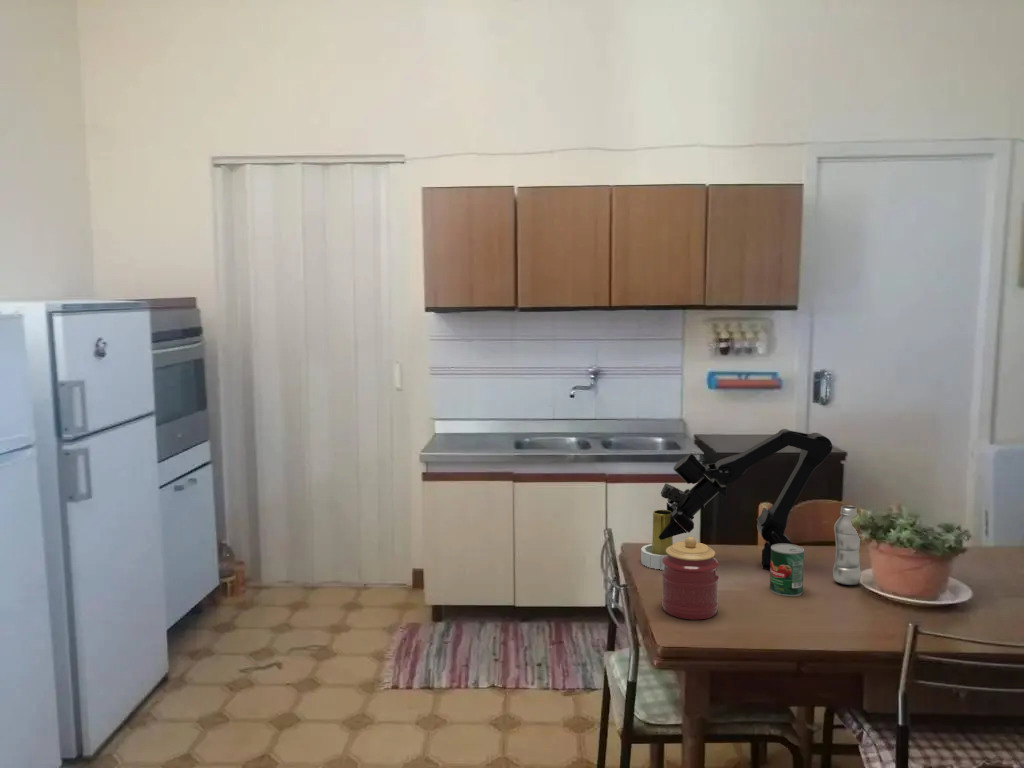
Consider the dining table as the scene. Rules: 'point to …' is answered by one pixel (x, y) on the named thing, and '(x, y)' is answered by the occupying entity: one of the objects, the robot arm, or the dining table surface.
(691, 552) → the canister
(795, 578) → the canned tomato
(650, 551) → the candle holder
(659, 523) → the vase
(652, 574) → the dining table surface
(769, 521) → the robot arm
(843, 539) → the plastic bottle
